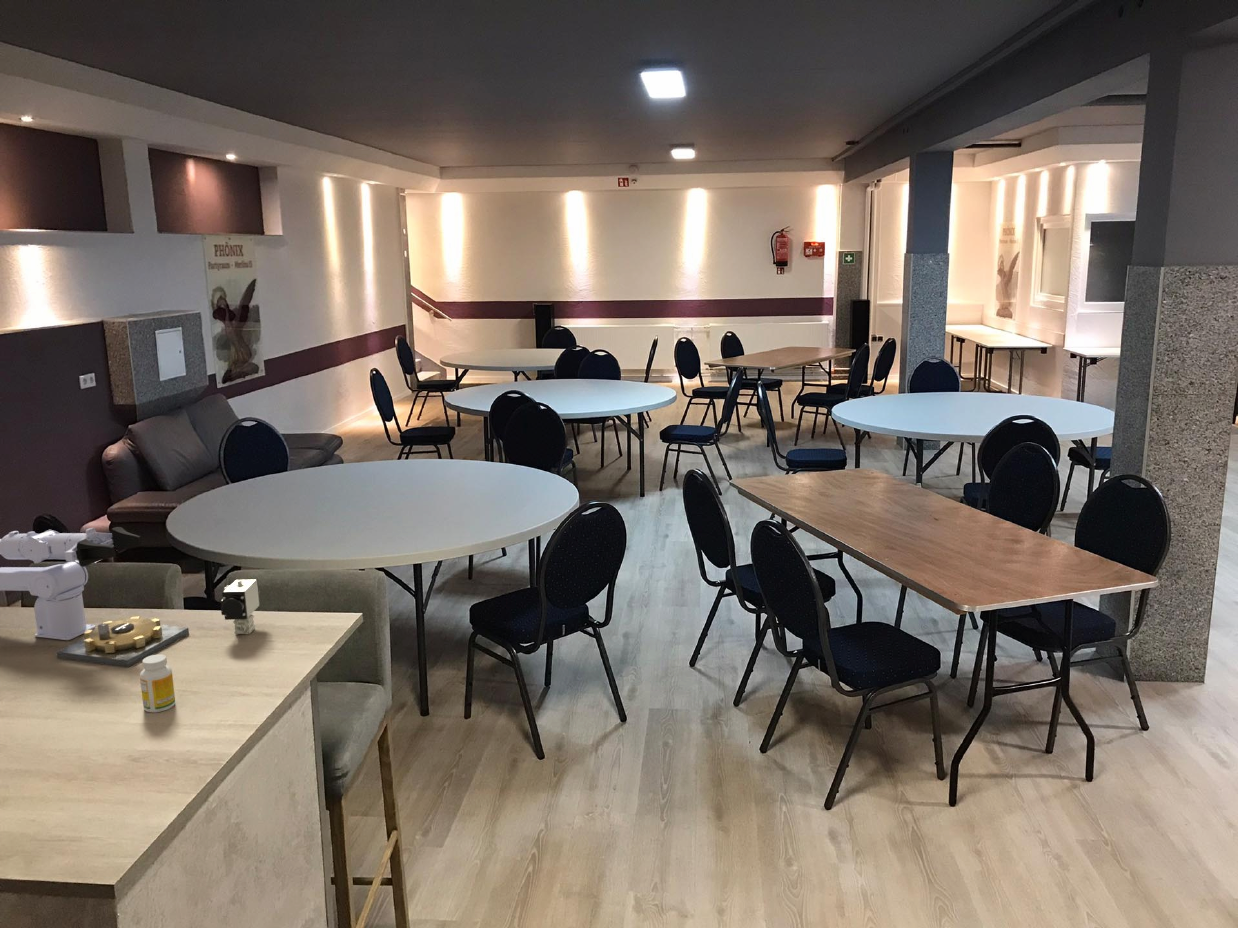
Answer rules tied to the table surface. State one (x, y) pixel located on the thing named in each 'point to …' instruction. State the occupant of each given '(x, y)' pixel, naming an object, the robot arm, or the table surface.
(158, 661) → the supplement bottle
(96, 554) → the robot arm
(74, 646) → the cap plate
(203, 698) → the table surface
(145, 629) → the blocky toothed spur gear
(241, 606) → the pneumatic valve
